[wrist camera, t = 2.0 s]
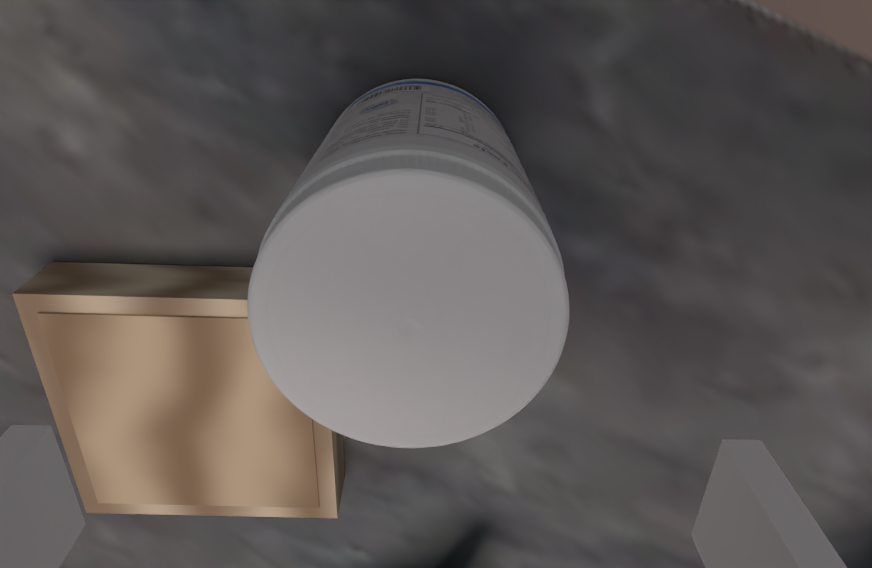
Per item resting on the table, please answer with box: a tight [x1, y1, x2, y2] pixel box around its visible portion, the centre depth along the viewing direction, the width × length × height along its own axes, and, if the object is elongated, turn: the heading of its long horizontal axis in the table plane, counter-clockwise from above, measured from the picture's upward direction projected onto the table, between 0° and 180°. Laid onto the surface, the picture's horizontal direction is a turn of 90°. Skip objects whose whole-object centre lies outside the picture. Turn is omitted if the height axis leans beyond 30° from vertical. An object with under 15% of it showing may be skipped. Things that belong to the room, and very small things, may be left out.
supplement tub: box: [247, 78, 569, 448], centre depth 24 cm, size 10×10×15 cm
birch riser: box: [12, 262, 345, 518], centre depth 35 cm, size 15×15×4 cm
